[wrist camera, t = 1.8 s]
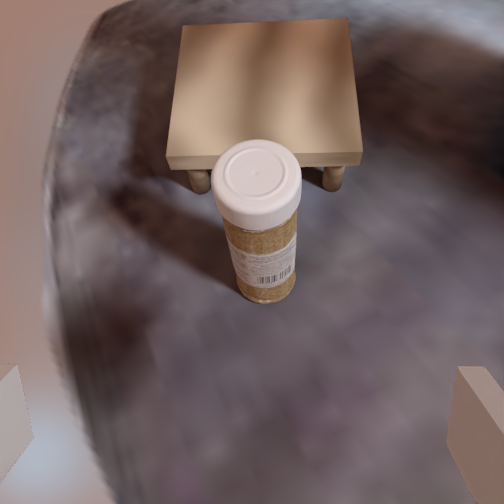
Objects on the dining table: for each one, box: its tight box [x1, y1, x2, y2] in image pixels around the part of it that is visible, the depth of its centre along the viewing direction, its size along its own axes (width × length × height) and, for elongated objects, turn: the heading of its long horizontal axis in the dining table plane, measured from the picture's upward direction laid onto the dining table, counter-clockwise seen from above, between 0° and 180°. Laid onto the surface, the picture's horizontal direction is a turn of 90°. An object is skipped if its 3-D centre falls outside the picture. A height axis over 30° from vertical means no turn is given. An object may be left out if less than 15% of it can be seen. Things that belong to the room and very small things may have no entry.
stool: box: [166, 18, 363, 194], centre depth 37 cm, size 14×14×6 cm
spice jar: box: [211, 139, 302, 304], centre depth 28 cm, size 5×5×14 cm
